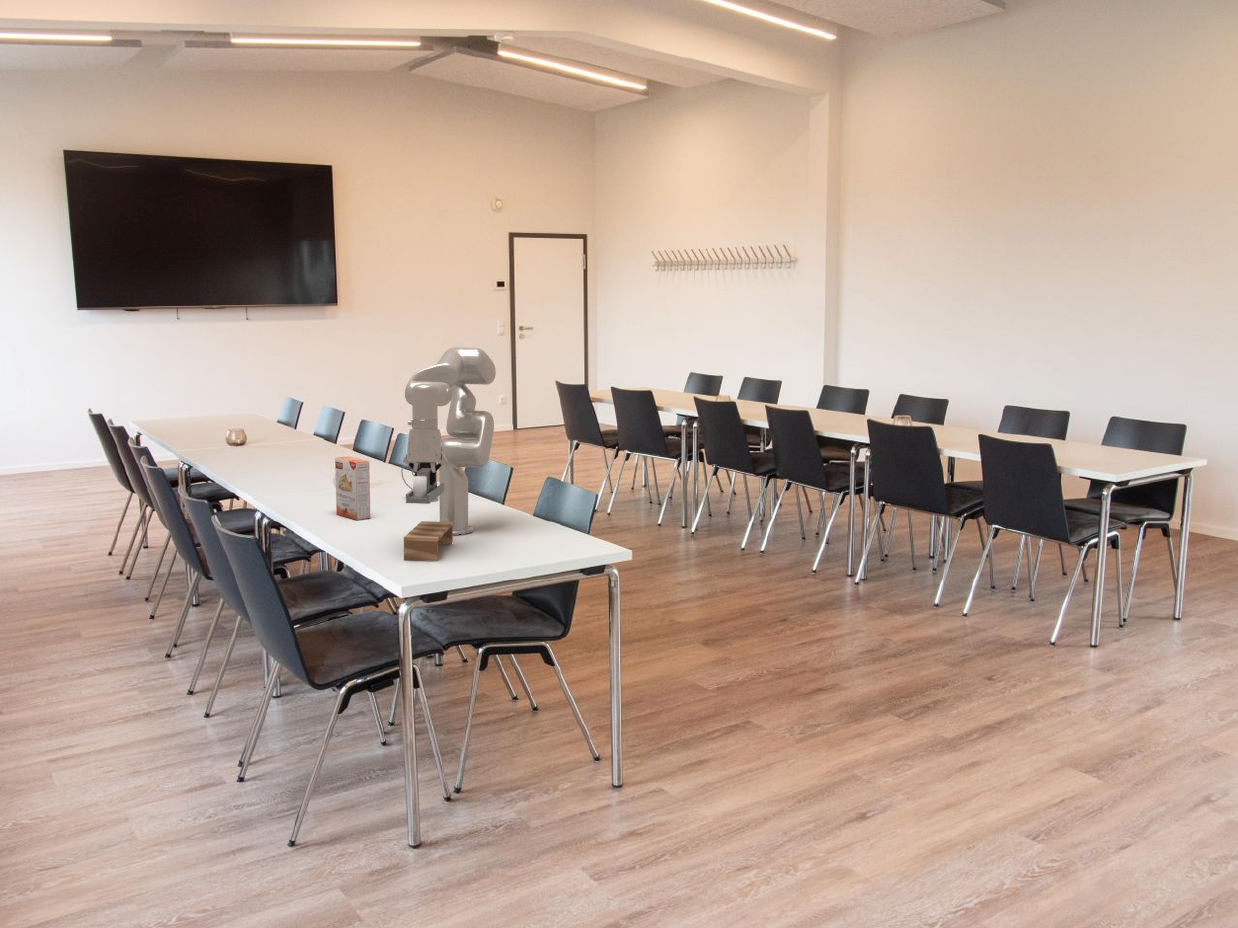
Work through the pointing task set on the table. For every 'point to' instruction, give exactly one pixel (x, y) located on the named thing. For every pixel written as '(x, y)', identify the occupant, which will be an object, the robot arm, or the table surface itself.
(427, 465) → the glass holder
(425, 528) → the curved wooden channel
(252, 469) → the table surface
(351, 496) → the cracker box
